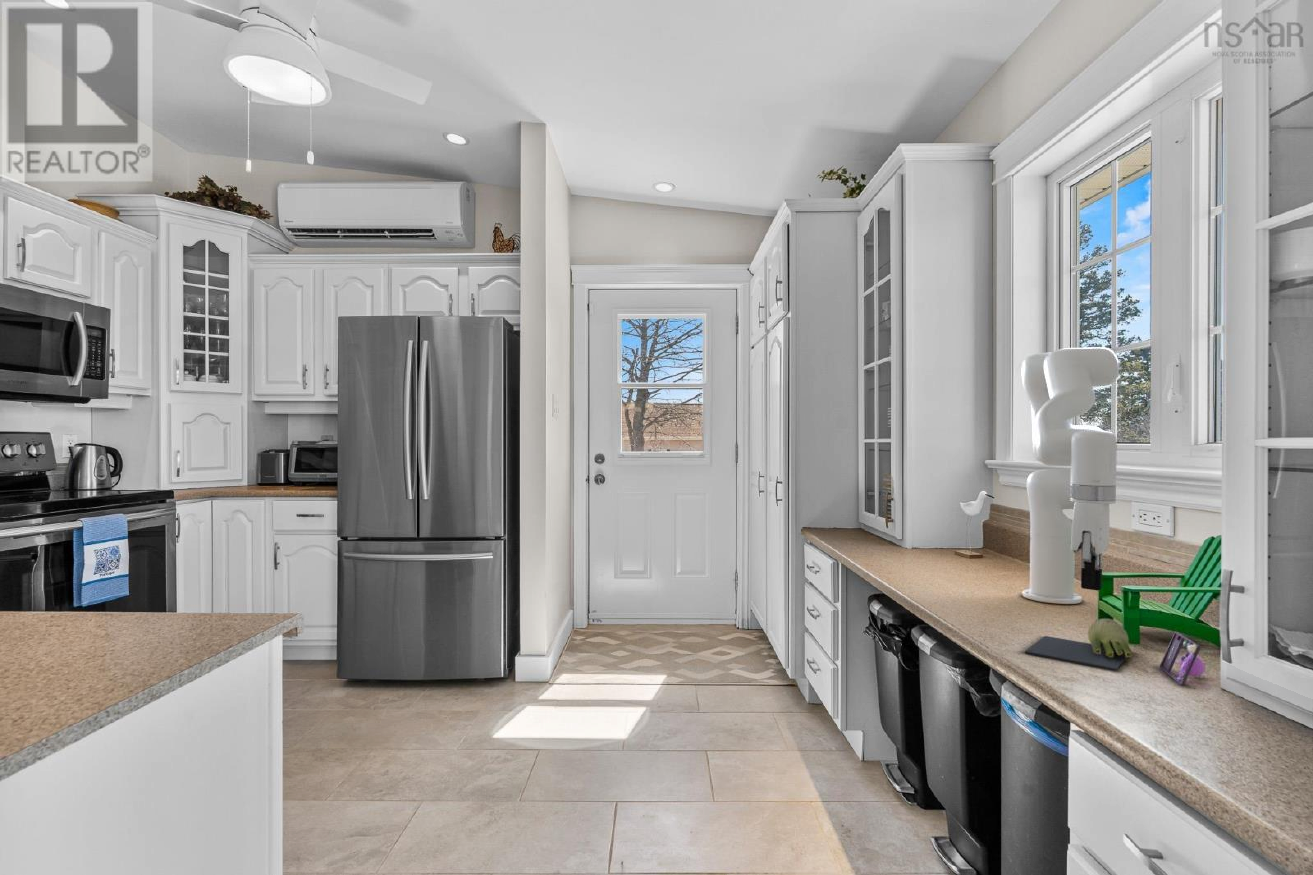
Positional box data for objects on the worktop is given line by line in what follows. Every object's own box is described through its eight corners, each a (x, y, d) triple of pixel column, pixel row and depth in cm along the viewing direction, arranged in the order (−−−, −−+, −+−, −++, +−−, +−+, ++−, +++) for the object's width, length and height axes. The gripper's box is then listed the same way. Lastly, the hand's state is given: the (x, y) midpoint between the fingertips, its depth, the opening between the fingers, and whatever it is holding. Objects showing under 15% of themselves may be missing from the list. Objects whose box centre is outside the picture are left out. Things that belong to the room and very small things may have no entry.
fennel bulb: (1082, 630, 135) (1090, 655, 124) (1096, 609, 133) (1104, 632, 123) (1115, 646, 133) (1125, 673, 122) (1128, 625, 131) (1140, 650, 121)
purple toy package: (1170, 629, 119) (1193, 643, 110) (1204, 642, 117) (1230, 658, 109) (1154, 665, 120) (1175, 682, 111) (1188, 679, 118) (1212, 697, 109)
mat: (1045, 637, 137) (1045, 635, 137) (1131, 653, 128) (1131, 650, 128) (1024, 653, 127) (1024, 651, 127) (1116, 671, 117) (1116, 668, 117)
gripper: (1079, 490, 145) (1078, 580, 145) (1061, 495, 134) (1060, 592, 134) (1122, 493, 140) (1121, 585, 140) (1107, 498, 129) (1106, 598, 129)
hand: (1091, 588), depth 137 cm, fingers closed
